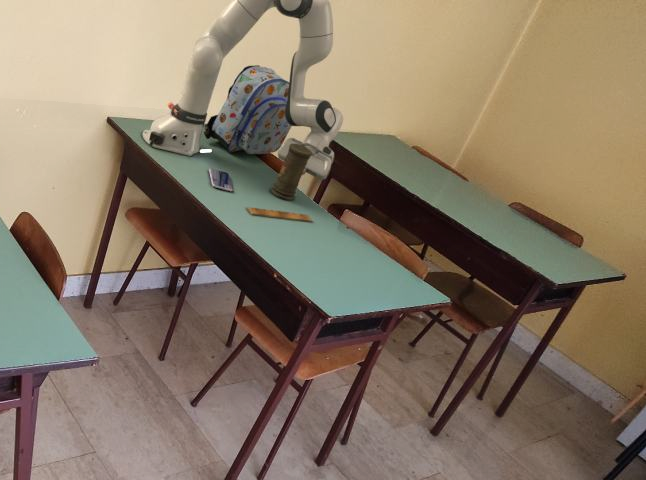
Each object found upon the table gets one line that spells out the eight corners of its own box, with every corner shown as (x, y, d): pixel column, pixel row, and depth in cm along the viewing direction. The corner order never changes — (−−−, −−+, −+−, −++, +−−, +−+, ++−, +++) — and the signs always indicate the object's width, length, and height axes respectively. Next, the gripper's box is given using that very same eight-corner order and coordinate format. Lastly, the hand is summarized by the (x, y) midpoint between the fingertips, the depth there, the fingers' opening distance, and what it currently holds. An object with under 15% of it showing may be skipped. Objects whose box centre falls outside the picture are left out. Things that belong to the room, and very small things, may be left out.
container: (293, 193, 228) (312, 148, 217) (293, 203, 221) (313, 156, 210) (270, 186, 227) (289, 140, 217) (270, 195, 220) (289, 148, 209)
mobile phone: (228, 172, 223) (233, 190, 211) (228, 174, 223) (232, 192, 212) (209, 167, 221) (212, 184, 209) (208, 169, 222) (212, 187, 210)
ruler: (251, 214, 202) (252, 212, 202) (247, 208, 205) (248, 206, 204) (311, 222, 212) (312, 220, 211) (306, 216, 215) (307, 214, 214)
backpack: (243, 167, 234) (272, 85, 216) (195, 138, 245) (220, 57, 226) (288, 159, 257) (318, 84, 239) (243, 133, 268) (269, 59, 249)
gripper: (289, 131, 226) (269, 160, 224) (337, 154, 221) (317, 185, 219) (289, 140, 232) (269, 169, 230) (336, 164, 227) (316, 193, 225)
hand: (293, 177), depth 225 cm, fingers closed
